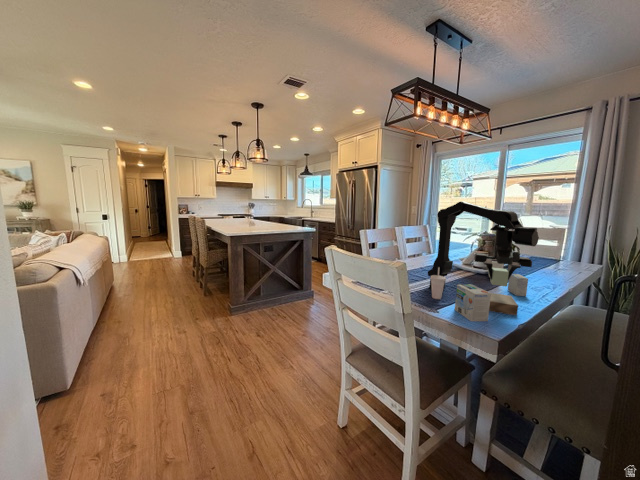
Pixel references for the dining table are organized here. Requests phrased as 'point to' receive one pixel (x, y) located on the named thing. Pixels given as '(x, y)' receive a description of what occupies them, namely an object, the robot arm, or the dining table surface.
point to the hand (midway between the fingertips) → (498, 280)
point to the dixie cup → (496, 265)
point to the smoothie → (437, 285)
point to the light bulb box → (472, 302)
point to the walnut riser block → (503, 304)
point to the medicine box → (518, 285)
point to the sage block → (499, 276)
